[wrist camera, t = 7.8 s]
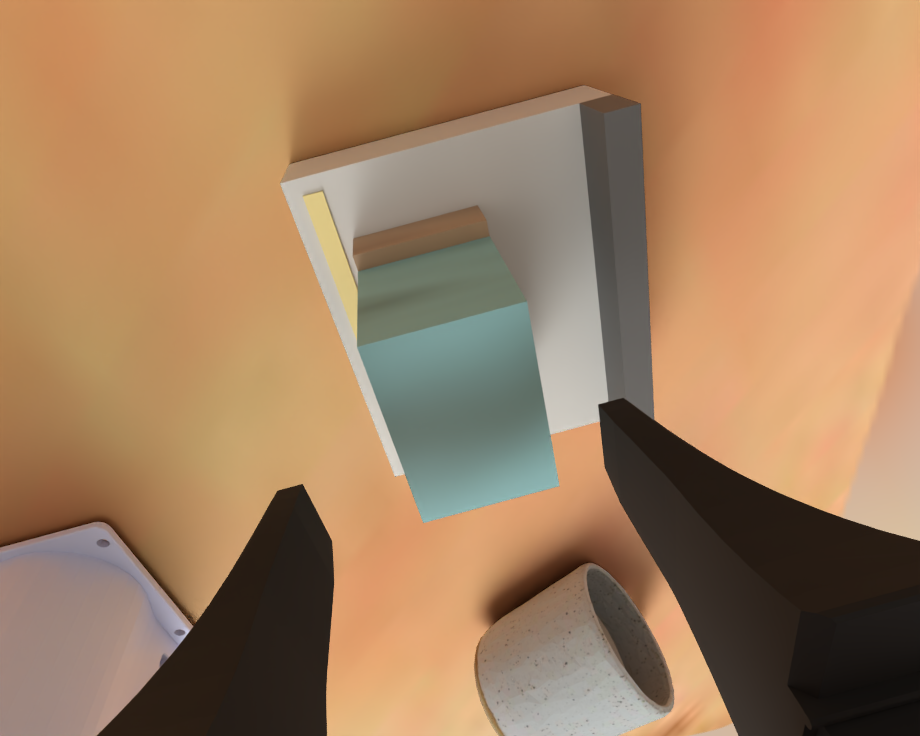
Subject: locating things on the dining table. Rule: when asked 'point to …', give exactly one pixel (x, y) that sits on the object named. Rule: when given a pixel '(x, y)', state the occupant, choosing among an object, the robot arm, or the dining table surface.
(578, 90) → the dock
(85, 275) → the dining table surface
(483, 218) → the teal rectangular block
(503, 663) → the ceramic mug
